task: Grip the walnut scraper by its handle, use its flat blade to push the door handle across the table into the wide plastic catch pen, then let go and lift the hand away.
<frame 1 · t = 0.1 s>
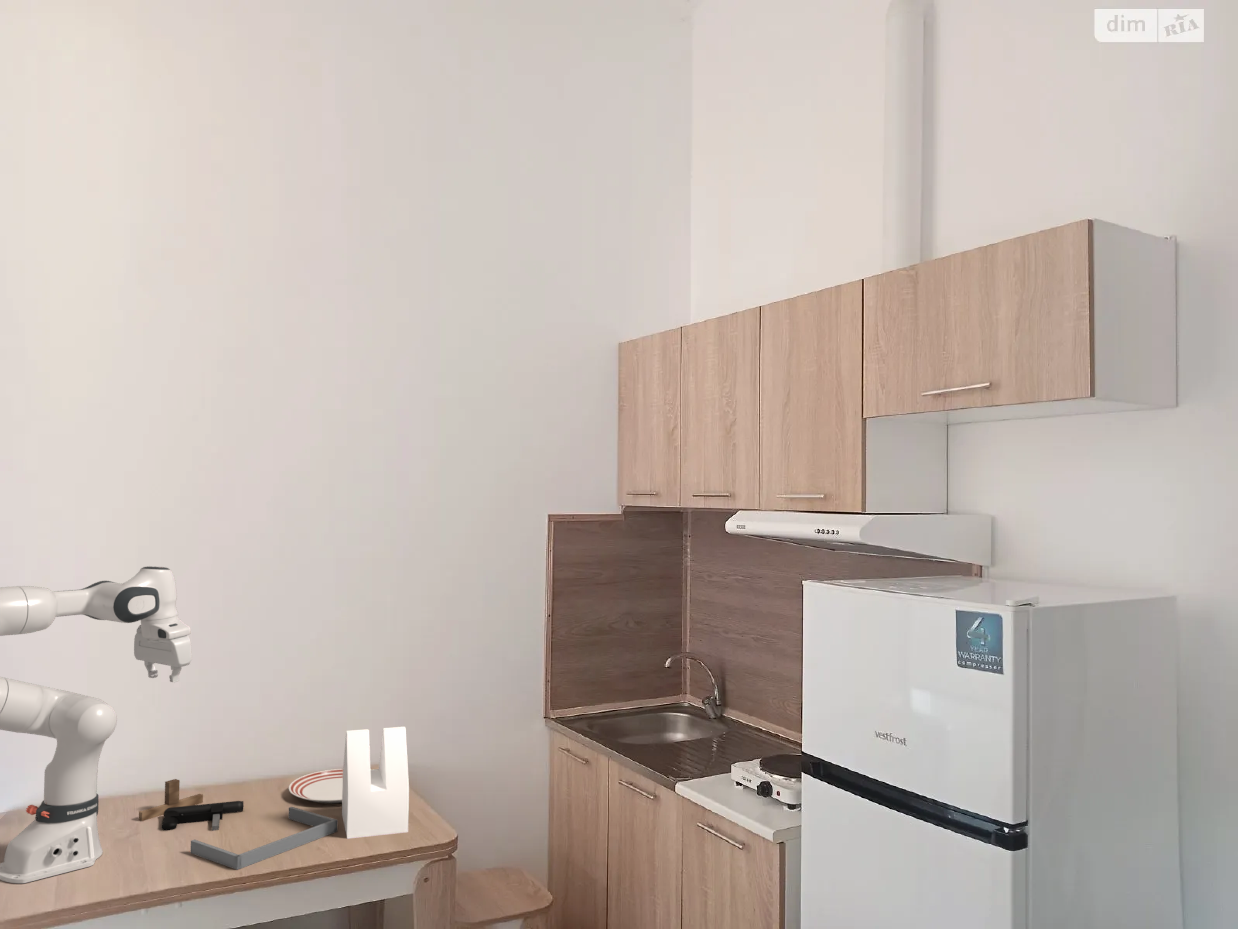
hand: (163, 679, 248), 39 cm above the table, tool pointing down, fingers open, 8 cm apart
catch pen: (266, 842, 239), on the table
door handle: (202, 824, 253), on the table
walnut scraper: (171, 812, 261), on the table
dinner plate: (337, 794, 278), on the table
white fork-shaped stand: (374, 824, 254), on the table
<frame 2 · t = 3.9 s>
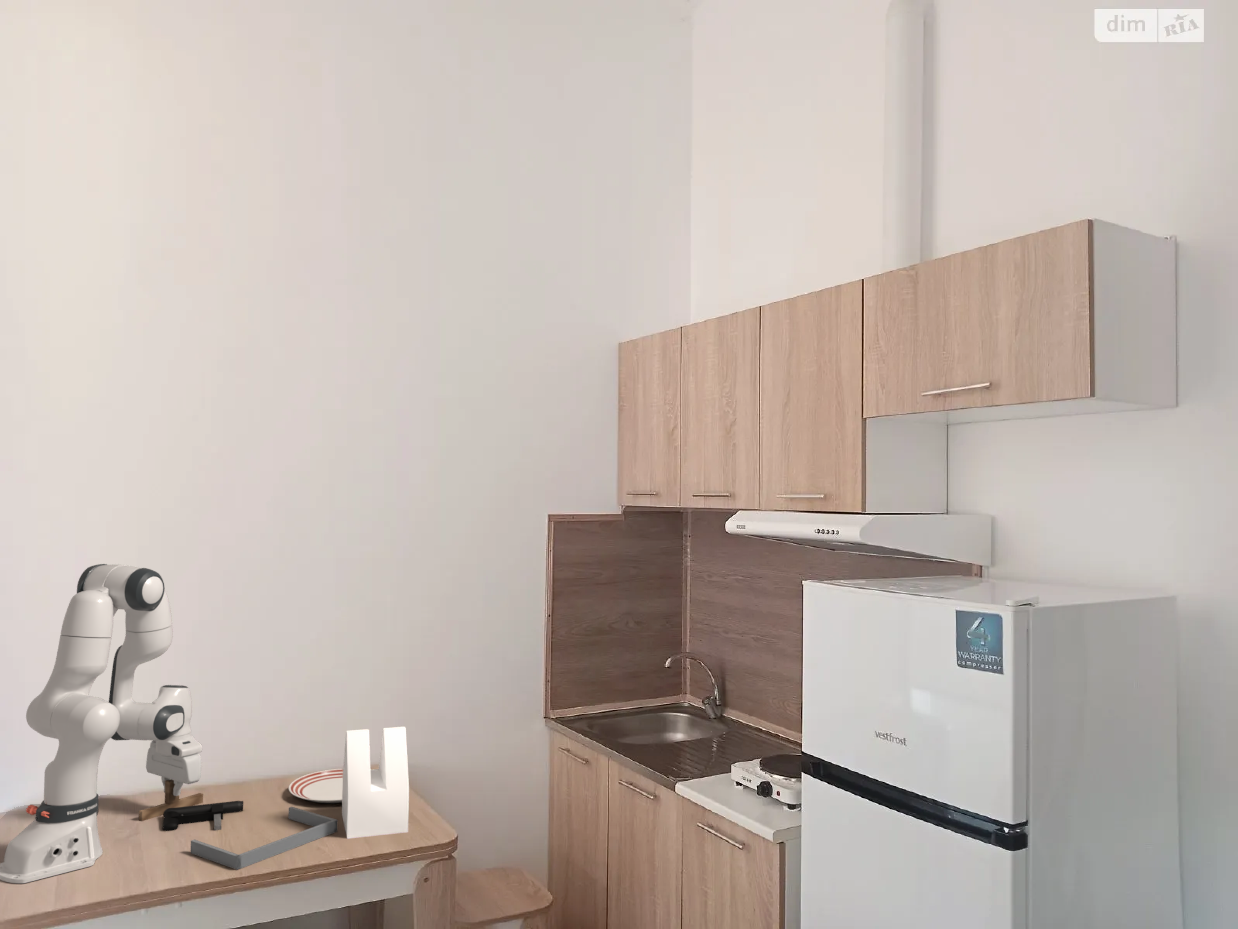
hand: (172, 794, 261), 5 cm above the table, tool pointing down, fingers closed on walnut scraper, 2 cm apart
walnut scraper: (171, 811, 261), on the table, touching gripper
everything else where it was.
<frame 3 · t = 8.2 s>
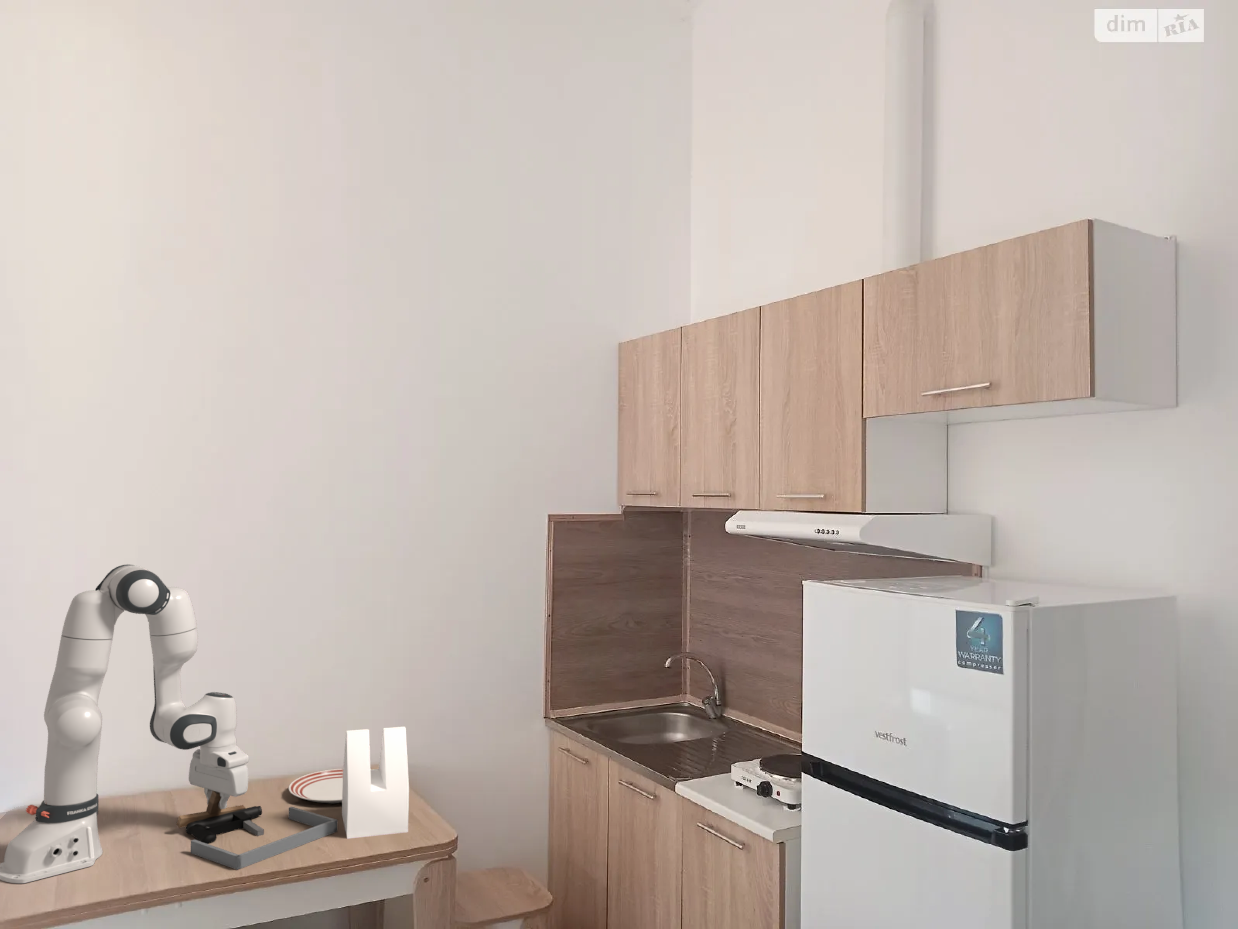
hand: (216, 806, 250), 5 cm above the table, tool pointing down, fingers closed on walnut scraper, 3 cm apart
door handle: (233, 832, 247), on the table
walnut scraper: (210, 820, 251), point 1 cm above the table, tilted 19°, touching gripper
everything else where it was.
when the fingers open (5 cm above the table, at t = 11.5 s): walnut scraper stays where it is, on the table.
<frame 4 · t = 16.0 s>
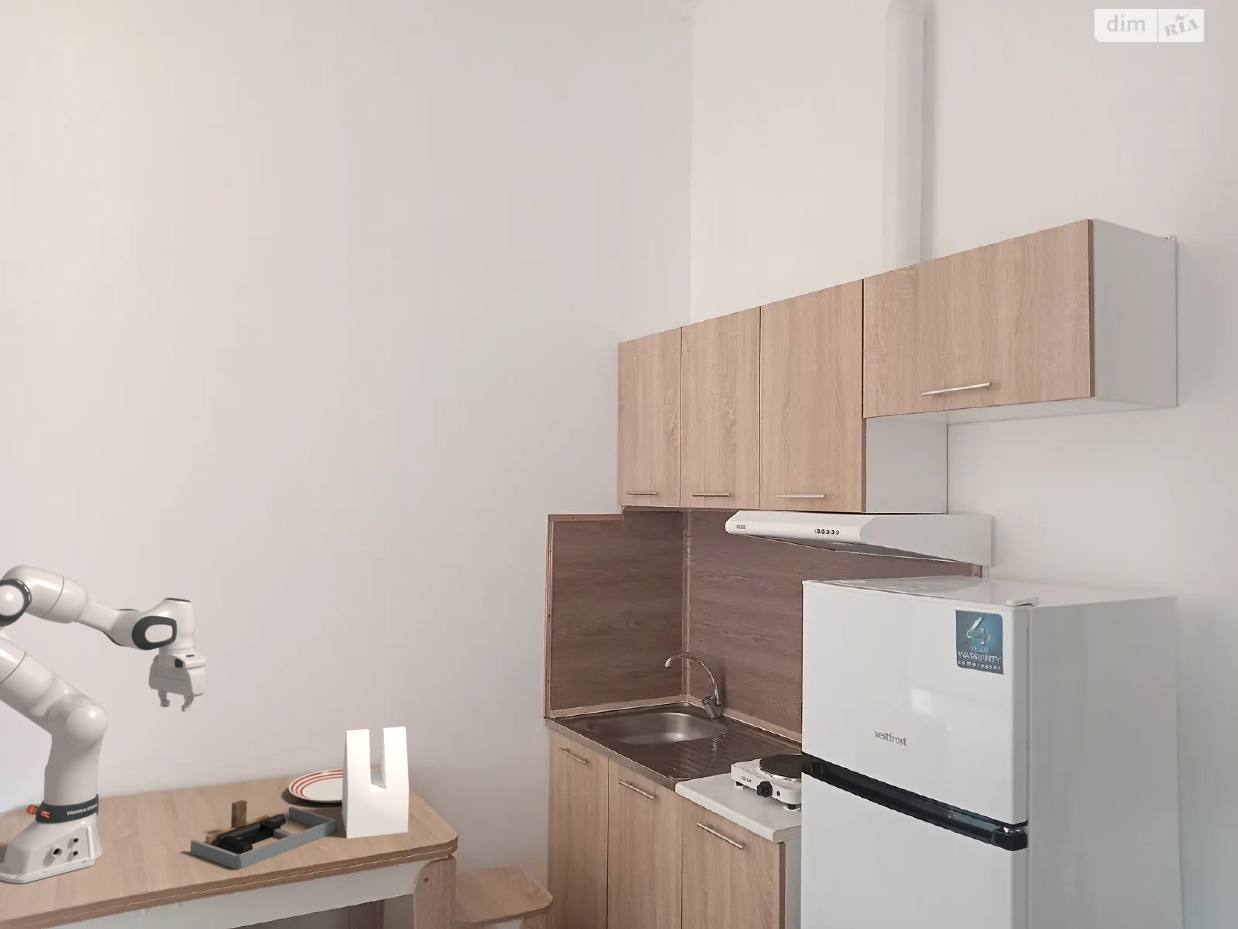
hand: (175, 709, 256), 29 cm above the table, tool pointing down, fingers open, 8 cm apart
door handle: (264, 842, 241), on the table
walnut scraper: (238, 835, 244), on the table
everything else where it was.
at the end: door handle inside the target area (0.9 cm from its centre), on the table; door handle moved 24.3 cm from its start; the gripper is holding nothing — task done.
